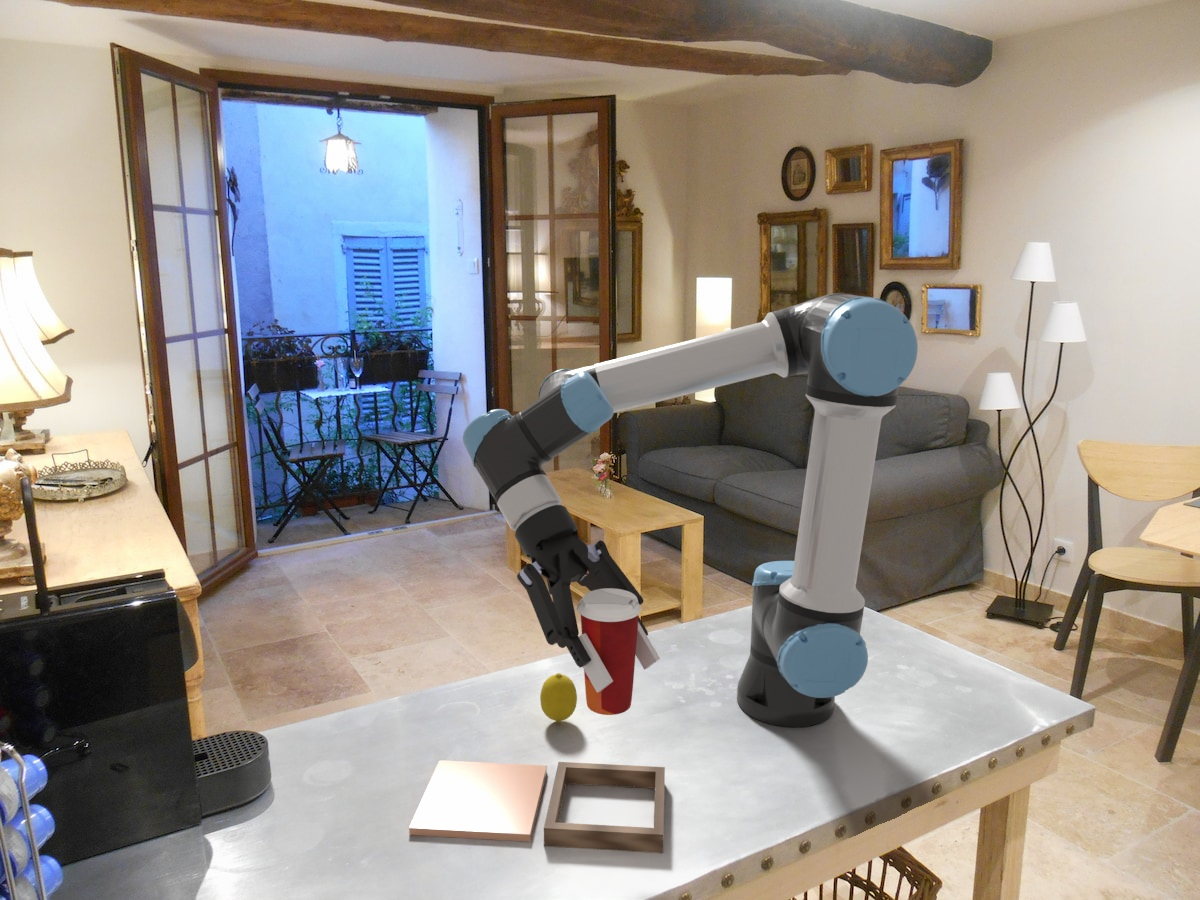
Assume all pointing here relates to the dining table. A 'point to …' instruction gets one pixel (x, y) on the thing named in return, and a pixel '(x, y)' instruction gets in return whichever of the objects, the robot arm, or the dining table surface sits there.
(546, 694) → the lemon
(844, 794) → the dining table surface
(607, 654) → the paper cup
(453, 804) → the terracotta tile
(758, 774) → the dining table surface
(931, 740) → the dining table surface
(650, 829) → the walnut frame
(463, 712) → the dining table surface
